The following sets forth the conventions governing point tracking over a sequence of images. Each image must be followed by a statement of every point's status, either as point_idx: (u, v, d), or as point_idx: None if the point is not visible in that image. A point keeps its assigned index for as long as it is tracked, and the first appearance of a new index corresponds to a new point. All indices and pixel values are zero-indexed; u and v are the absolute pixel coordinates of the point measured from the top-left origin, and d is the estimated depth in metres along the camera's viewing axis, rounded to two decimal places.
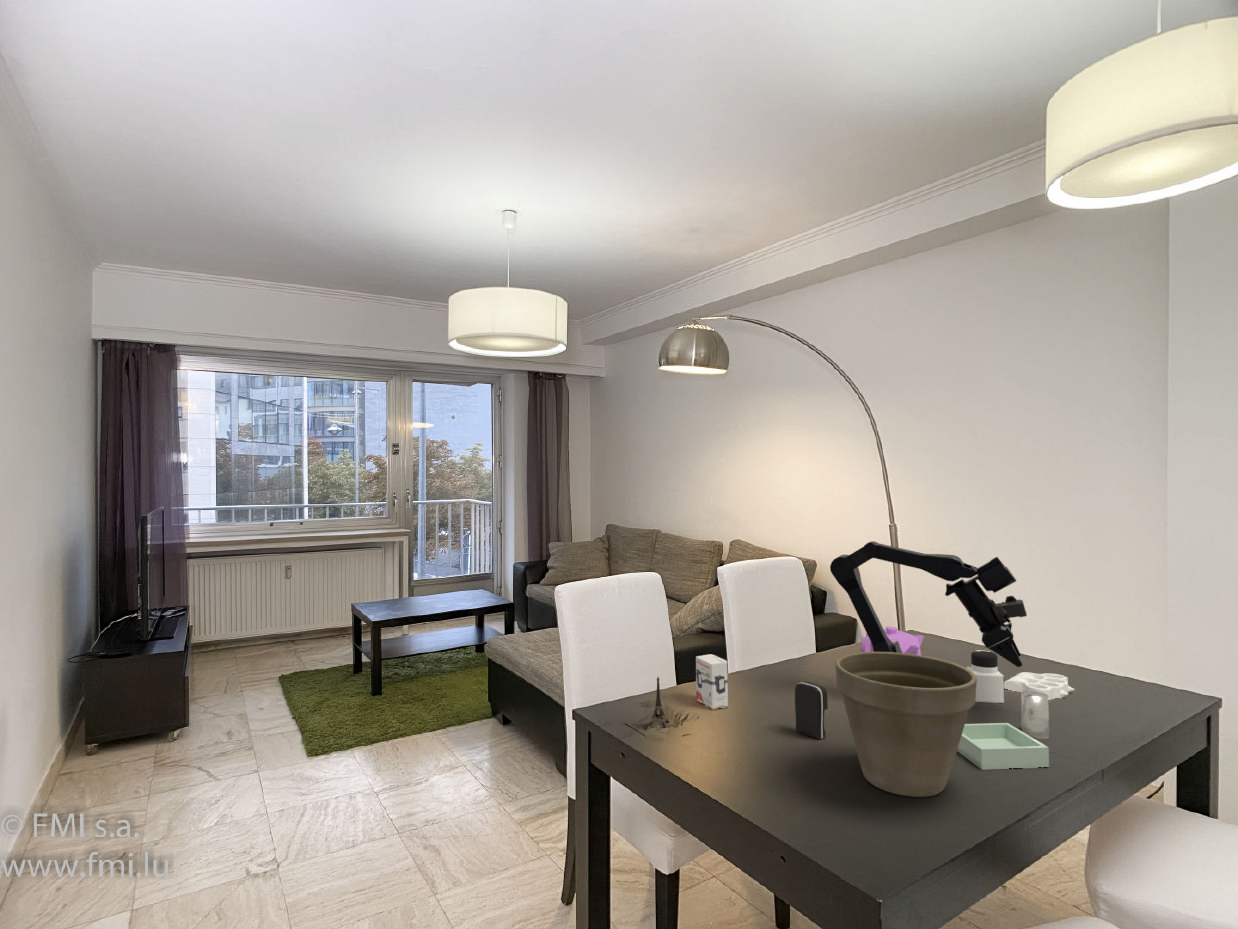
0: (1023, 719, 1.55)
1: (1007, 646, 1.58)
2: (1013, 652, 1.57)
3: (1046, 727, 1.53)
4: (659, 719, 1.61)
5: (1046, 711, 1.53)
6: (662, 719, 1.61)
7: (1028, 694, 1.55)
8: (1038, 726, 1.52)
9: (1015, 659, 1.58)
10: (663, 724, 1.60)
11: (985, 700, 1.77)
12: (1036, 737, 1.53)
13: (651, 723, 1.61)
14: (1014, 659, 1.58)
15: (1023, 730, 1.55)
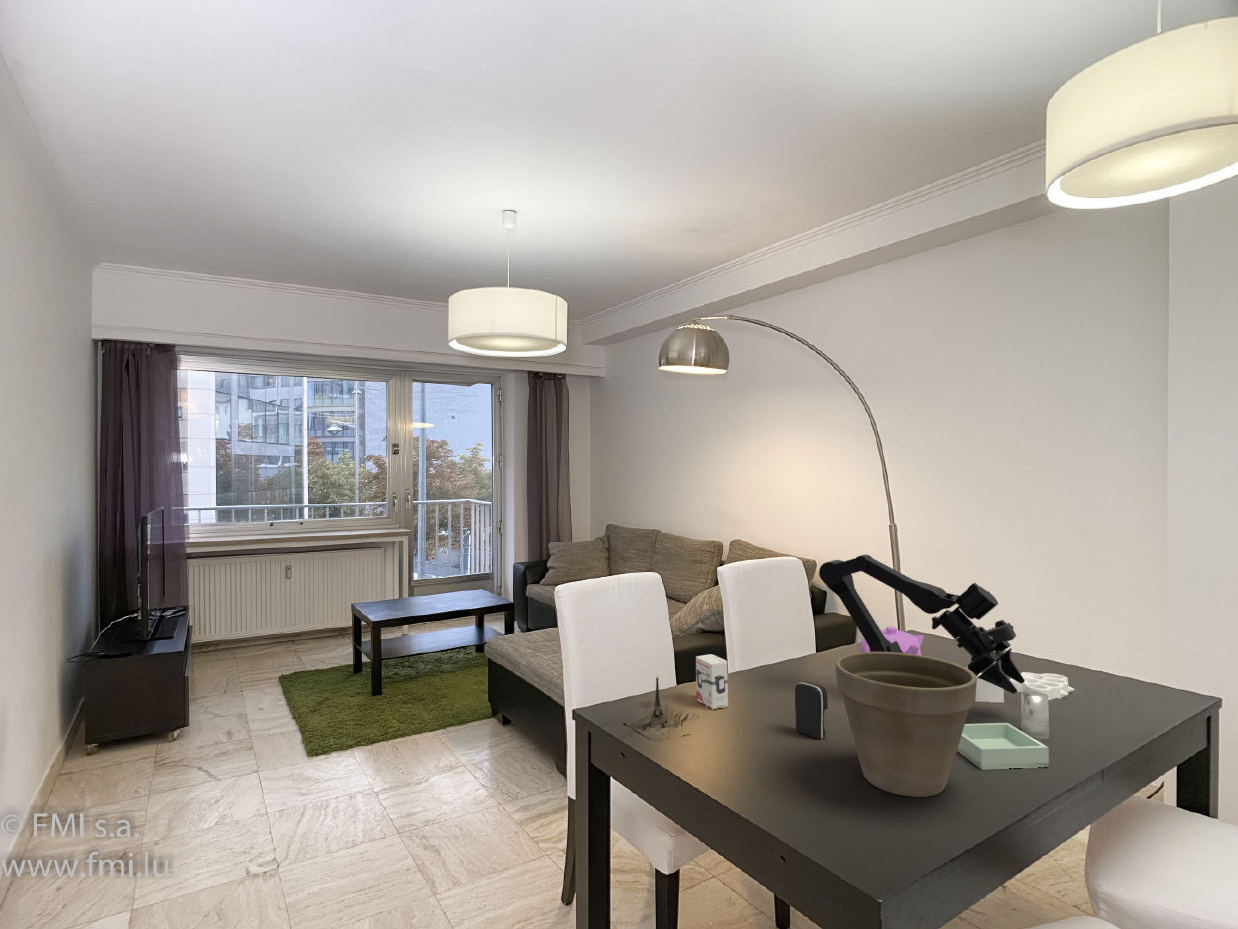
0: (1023, 719, 1.55)
1: (997, 673, 1.54)
2: (1004, 678, 1.54)
3: (1046, 727, 1.53)
4: (658, 719, 1.61)
5: (1046, 711, 1.53)
6: (661, 719, 1.60)
7: (1028, 694, 1.55)
8: (1038, 726, 1.52)
9: (1008, 685, 1.54)
10: (662, 724, 1.60)
11: (985, 700, 1.77)
12: (1036, 737, 1.53)
13: (650, 723, 1.61)
14: (1008, 686, 1.54)
15: (1023, 730, 1.55)
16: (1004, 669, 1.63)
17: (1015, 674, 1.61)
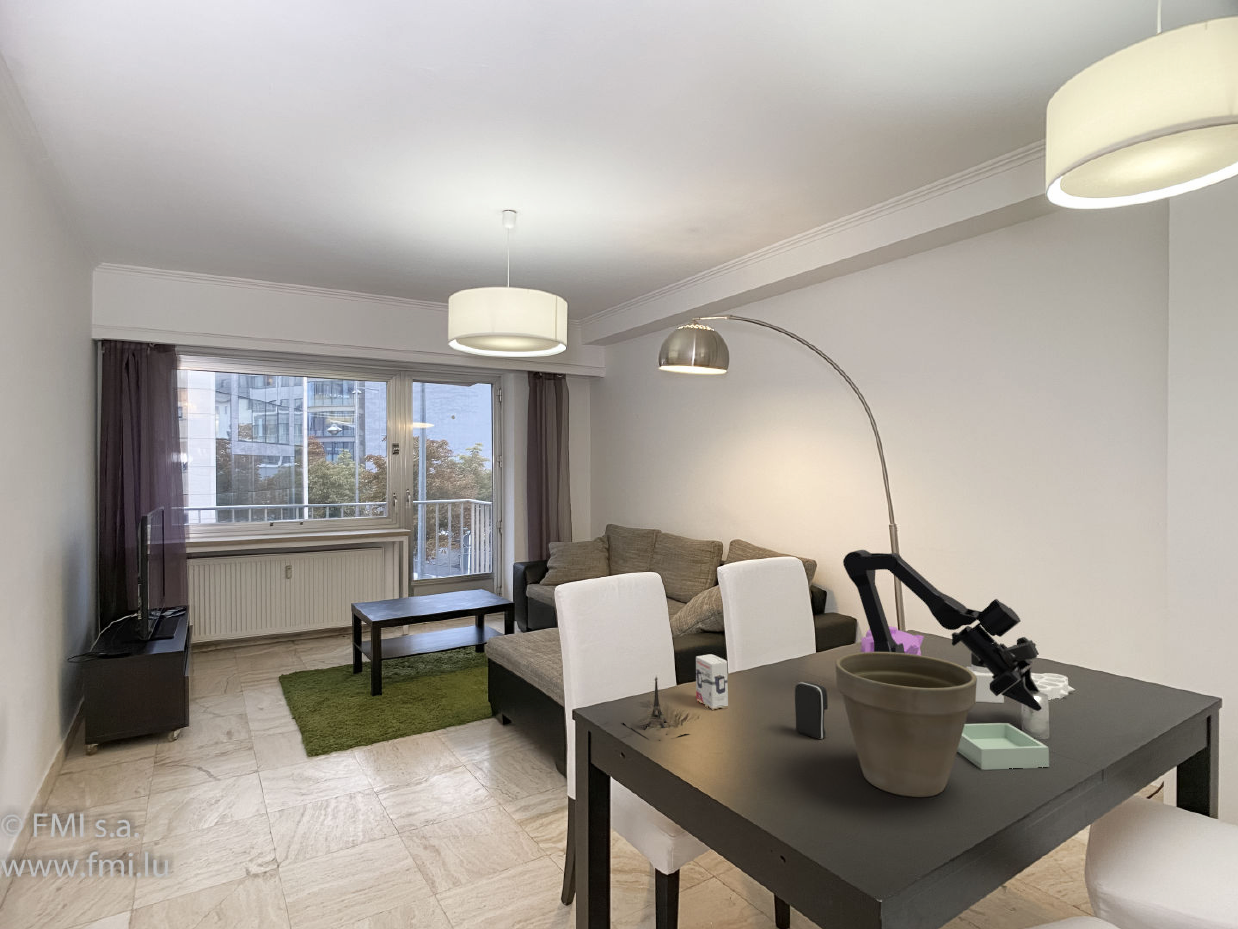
0: (1023, 719, 1.55)
1: (1021, 690, 1.53)
2: (1028, 696, 1.52)
3: (1046, 727, 1.53)
4: (657, 719, 1.61)
5: (1046, 711, 1.53)
6: (660, 719, 1.60)
7: None
8: (1038, 726, 1.52)
9: (1032, 703, 1.52)
10: (661, 724, 1.60)
11: (985, 700, 1.77)
12: (1036, 737, 1.53)
13: (649, 723, 1.61)
14: (1032, 703, 1.52)
15: (1023, 730, 1.55)
16: None
17: None
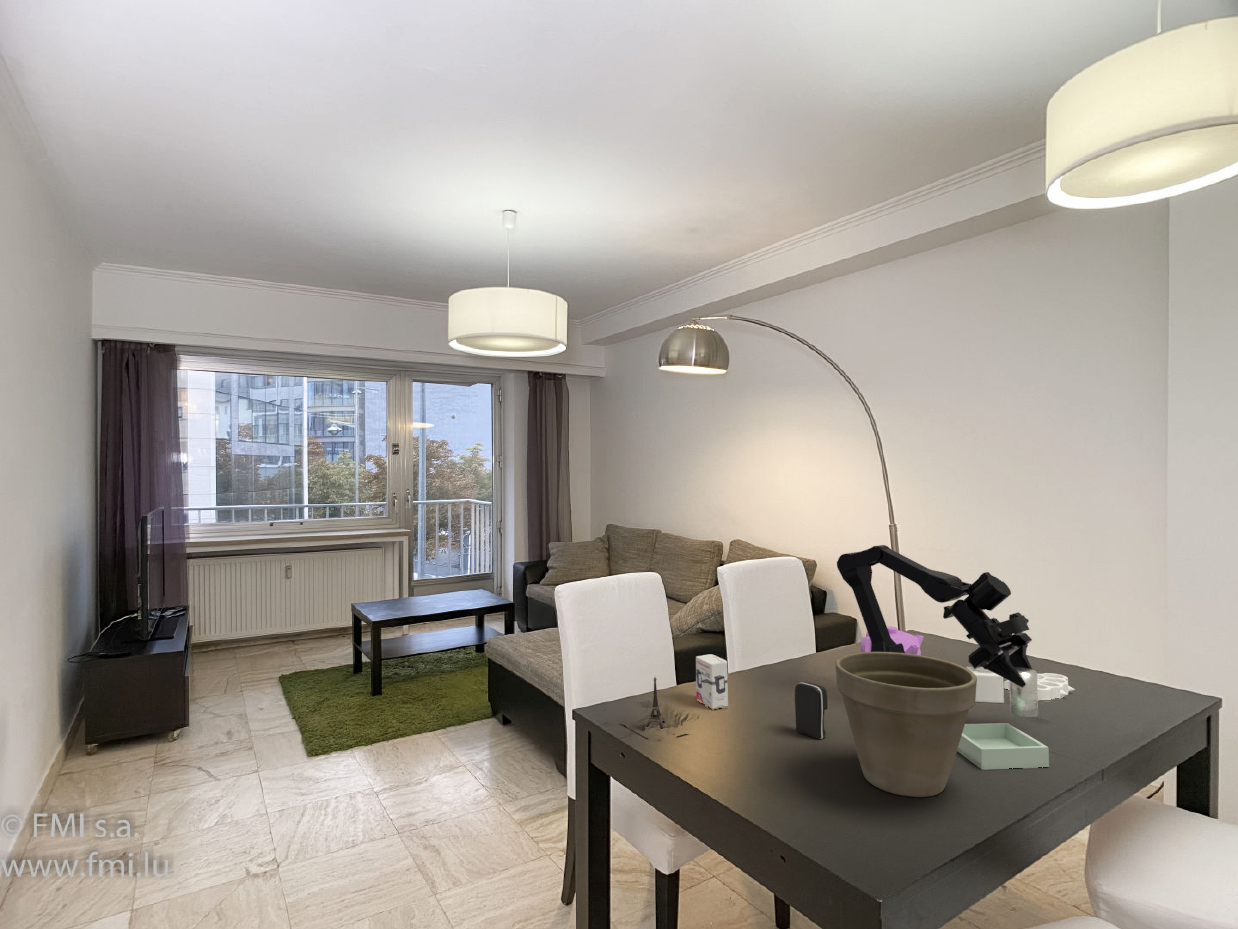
0: (1010, 695, 1.50)
1: (1004, 665, 1.49)
2: (1011, 671, 1.48)
3: (1032, 704, 1.47)
4: (656, 719, 1.60)
5: (1033, 688, 1.47)
6: (659, 719, 1.60)
7: None
8: (1023, 703, 1.47)
9: (1016, 678, 1.47)
10: (660, 724, 1.60)
11: (985, 700, 1.77)
12: (1021, 714, 1.47)
13: (648, 724, 1.60)
14: (1015, 678, 1.47)
15: (1010, 707, 1.50)
16: (1017, 666, 1.53)
17: None
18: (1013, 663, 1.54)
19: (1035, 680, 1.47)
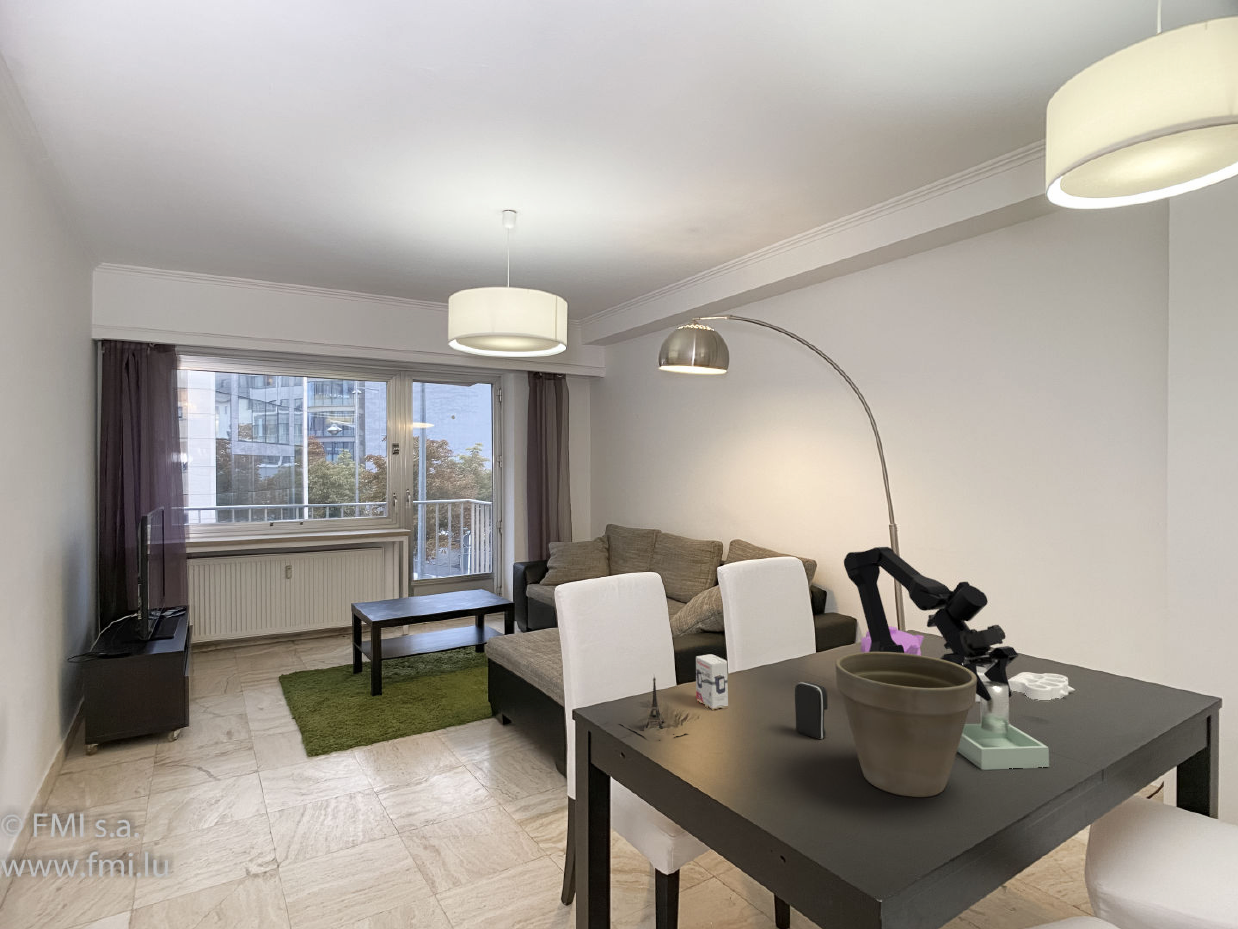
0: (980, 709, 1.46)
1: None
2: None
3: (999, 720, 1.42)
4: (656, 720, 1.60)
5: (1000, 703, 1.42)
6: (659, 719, 1.60)
7: (987, 683, 1.46)
8: (989, 718, 1.43)
9: (982, 692, 1.43)
10: (660, 724, 1.60)
11: None
12: (988, 729, 1.43)
13: (648, 724, 1.60)
14: (981, 692, 1.43)
15: None
16: (994, 680, 1.48)
17: None
18: (992, 677, 1.49)
19: (1003, 695, 1.42)
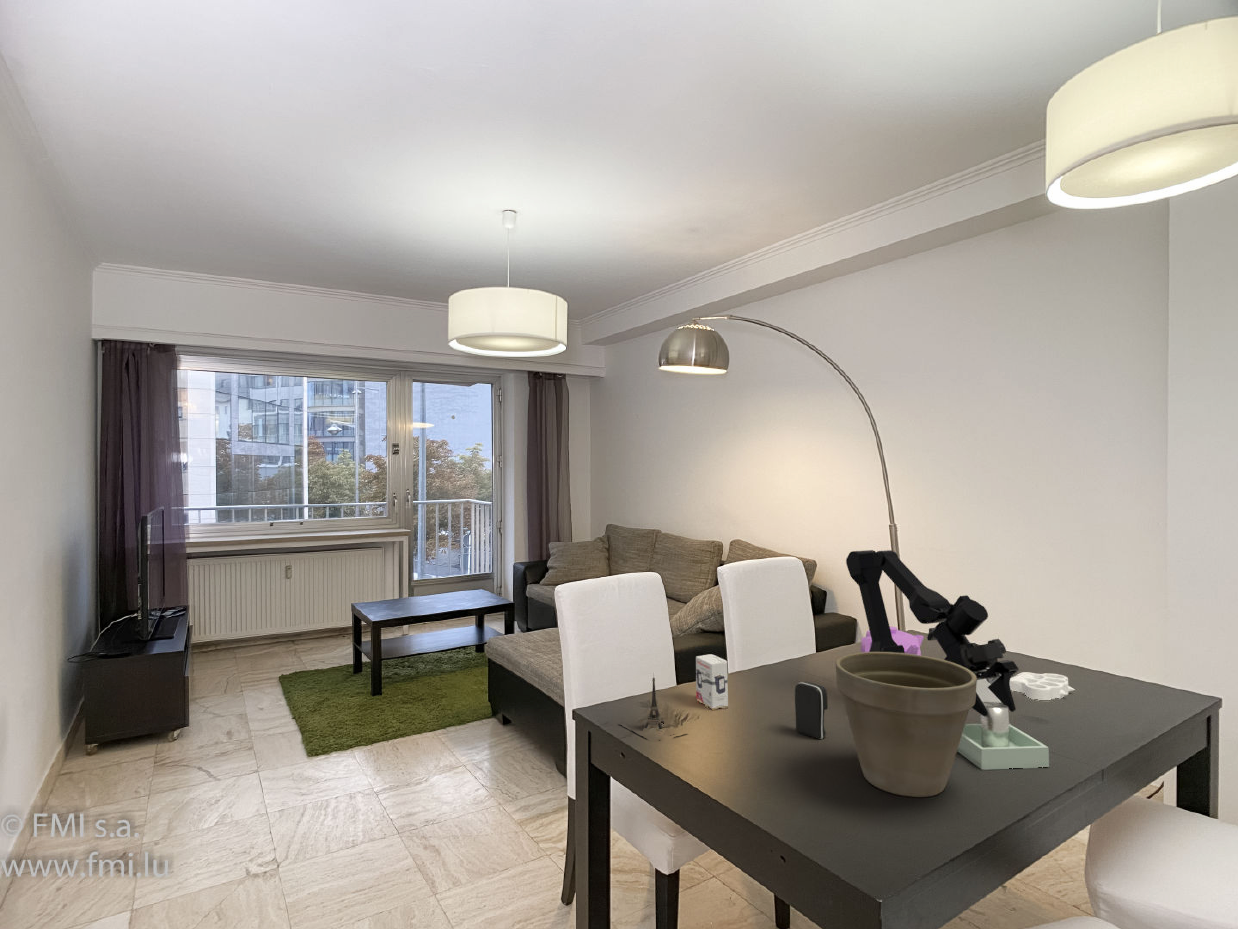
0: None
1: None
2: None
3: (1000, 741, 1.42)
4: (655, 720, 1.60)
5: (1000, 724, 1.42)
6: (658, 720, 1.60)
7: (987, 704, 1.46)
8: (990, 739, 1.43)
9: (979, 707, 1.43)
10: (659, 725, 1.60)
11: (985, 700, 1.77)
12: None
13: (647, 724, 1.60)
14: (978, 707, 1.43)
15: (981, 742, 1.46)
16: (998, 694, 1.48)
17: (1007, 700, 1.46)
18: (996, 691, 1.49)
19: (1003, 716, 1.42)
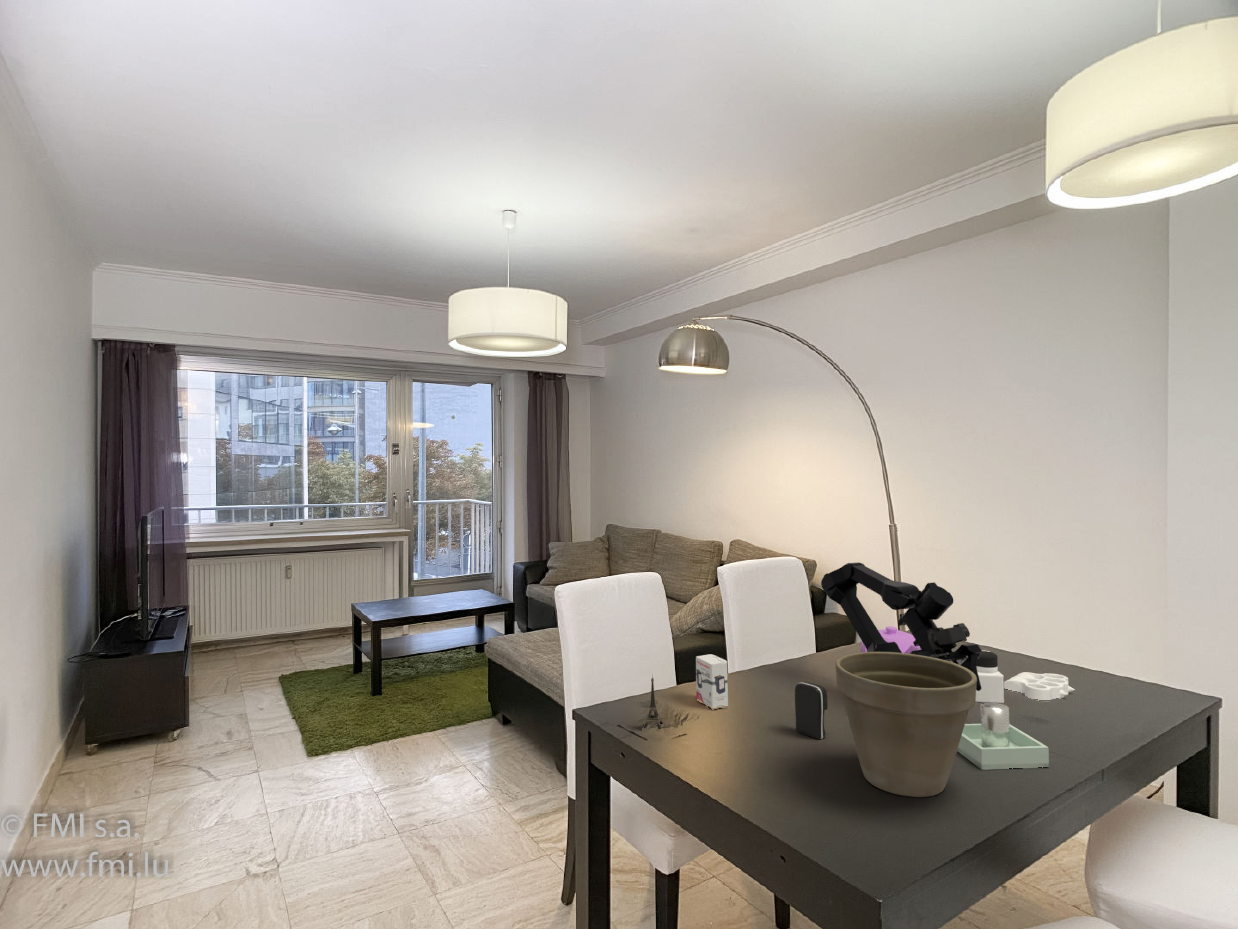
0: (981, 730, 1.46)
1: None
2: None
3: (1000, 742, 1.42)
4: (654, 720, 1.60)
5: (1001, 725, 1.42)
6: (657, 720, 1.60)
7: (988, 704, 1.46)
8: (990, 740, 1.43)
9: None
10: (658, 725, 1.60)
11: (985, 700, 1.77)
12: None
13: (646, 724, 1.60)
14: None
15: (981, 742, 1.46)
16: None
17: None
18: None
19: (1004, 717, 1.42)
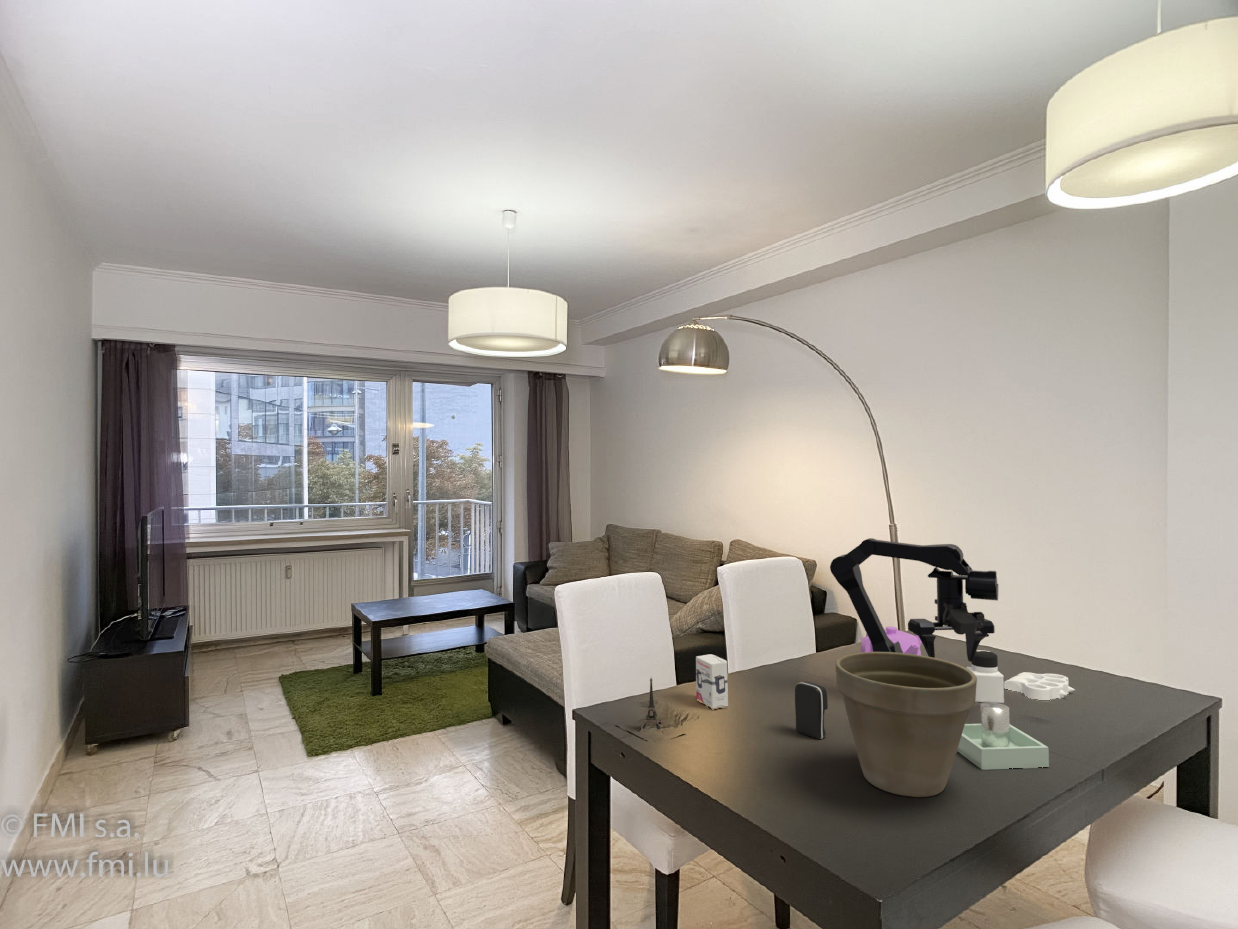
0: (981, 730, 1.46)
1: None
2: (928, 648, 1.67)
3: (1000, 742, 1.42)
4: (653, 720, 1.60)
5: (1001, 725, 1.42)
6: (656, 720, 1.60)
7: (988, 704, 1.45)
8: (990, 740, 1.43)
9: (930, 654, 1.67)
10: (657, 725, 1.59)
11: (985, 700, 1.77)
12: None
13: (645, 725, 1.60)
14: (929, 654, 1.67)
15: (981, 742, 1.46)
16: (968, 642, 1.69)
17: (969, 652, 1.68)
18: (967, 638, 1.69)
19: (1004, 717, 1.42)
